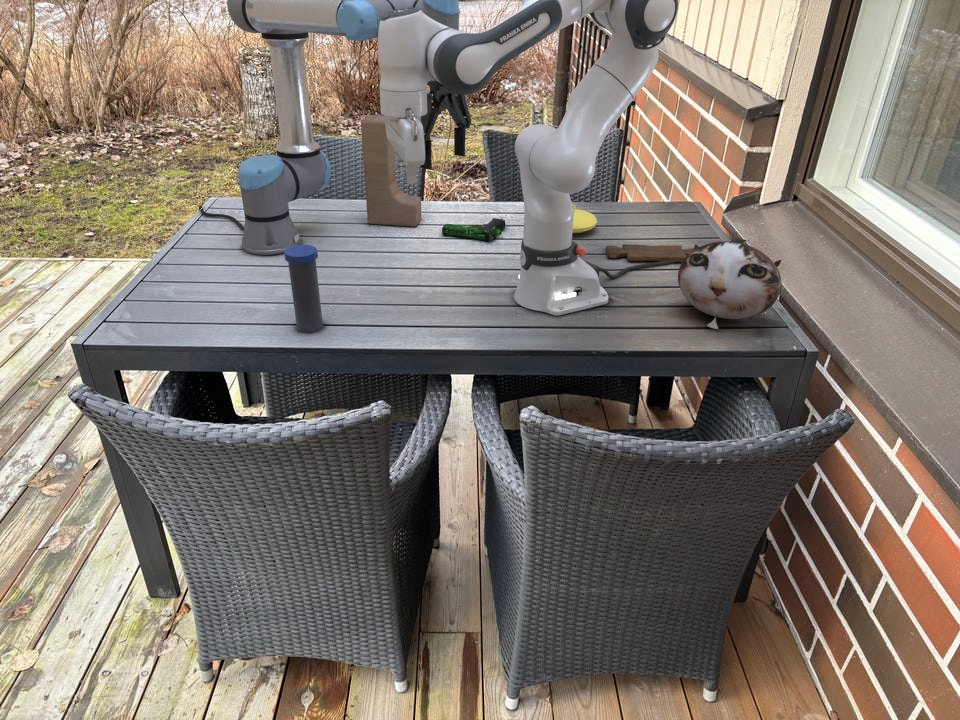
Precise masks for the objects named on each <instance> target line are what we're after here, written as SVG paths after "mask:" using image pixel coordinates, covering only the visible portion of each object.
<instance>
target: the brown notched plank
mask: <svg viewBox="0 0 960 720" xmlns="http://www.w3.org/2000/svg"><path fill="white" fill-rule="evenodd" d="M605 250H606V251H605V252H606V256H607V257H608V259H614V260H615V259H620V258H625V257H626V259H627V261H628V262H644V261H646V262H649V261H651V262H652V261H653V262H660V261H666V260H673V261H675V262H674V263H682V261H683V260H684V259H685V257H686V256H687V255H688V254H689V253H691V252H692V251H693V250H694V247H692V248H686V249H683V246H682V245H678V244H677V245H674V244H673V245H672V244H671V245H670V244H669V245H668V244H667V245H666V244H663V245H662V244H661V245H659V244H658V245H650V244H649V245H648V244H625V243H624V244H622V245H621V247H619V246H617V245H606V246H605Z"/></svg>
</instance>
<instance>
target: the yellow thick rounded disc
mask: <svg viewBox="0 0 960 720" xmlns="http://www.w3.org/2000/svg"><path fill="white" fill-rule="evenodd" d="M572 205H573V208H574V220H573V232H572V234H580V233H584V232H585V233H586V232H587V231H591V230H592V229H594V228H596V226H597V223H598V219H597V217H596V215H595V214H593V213H591V212H589V211H587V210H584V209H578V208H576V205H575V204H572Z"/></svg>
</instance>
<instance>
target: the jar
mask: <svg viewBox="0 0 960 720" xmlns="http://www.w3.org/2000/svg"><path fill="white" fill-rule="evenodd" d="M287 264H288V271H289V279H290V288H291V295H292V302H293V308H294V309H293V311H294V316H295V325H296V330H297V331H298V332H300V333H303V334H311V333H312V334H313V333H316V332H319V331H320V330H322V329H323V328H324V323H323V313H322V304H321V296H320V295H321V294H320V287H319V277H318V269H317V259H316V260H314V261H312V262H309V263H304V264H293V263H289V262H287Z"/></svg>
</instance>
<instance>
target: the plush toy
mask: <svg viewBox="0 0 960 720" xmlns="http://www.w3.org/2000/svg"><path fill="white" fill-rule="evenodd" d="M693 248H694V250H693V251H692V252H691V253H689V254H688V255H687V256H686V257H685V259H684V260H683V261H682V262H680V265H679V269H678V272H677V282H678V286H679V289H680V291H681V293H682V295H683V296H684V298H685V300H686V301H687V302H689V303H690V304H691V306H693V307H694V308H696V309H697V310H698V311H701V313H705V314H706V315H708V316H712V317H714V319H713V320H712V321H711V322H709V323H708V324H706V325H705V326H706V327H708V328H710V329H715V330H720V329H719V326H718V324H717V318H719V319H722V320H723V319H724V320H745V319H749V318H753V317H757V316H758V315H761V314H763V313H764V312H766V311H768V310H769V309H770V308H771V307H772V306H773V305H774V304H775V303H776V302H777V300H778V298H779V297H780V294H781V291H782V285H783V283H782V276H781V272H780V271H779V268H778V267H779V266H780V265H781V263H782V259H779V260H776V261H773V259H771V258H770V257H769V256H768V255H767V254H765V253H764V252H763V251H761V250H759V249H758V248H756V247H753V246H751V245H749V244H745V243H743V242H739V241H737V242H730V241H727V240H726V241H725V240H724V241H714V242H710V243H709V242H708V243H705V244H703V245H701V246H698V244H696V243H695V244H694V246H693Z"/></svg>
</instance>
